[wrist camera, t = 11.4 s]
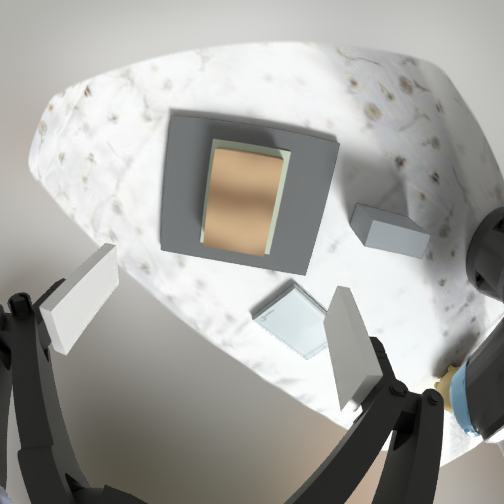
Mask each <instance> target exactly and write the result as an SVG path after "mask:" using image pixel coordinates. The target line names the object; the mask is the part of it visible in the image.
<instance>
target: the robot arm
mask: <svg viewBox="0 0 504 504" xmlns="http://www.w3.org/2000/svg"><path fill="white" fill-rule="evenodd" d="M466 270H467V276H468V279H469V281H470V283H471V284H472V285H473V286H474V287H475V288H476V289H477V290H478V291H479V292H480V293H482V294H484V295H487V296H489V297H491V298H494V299H496V300H498V301H501V302H503V303H504V207H503V208H499V209H496V210H495V211H493V212H492V213H490V214H489V215H488V216H487V217H486V218H485V219H484V220H483V222H482V223H481V225H480V226H479V228H478V229H477V231H476V233H475V235H474V237H473V239H472V242H471V244H470V248H469V251H468V256H467V263H466ZM118 284H119V280H118V268H117V254H116V245H112V244H107V243H105V244H104V245H103V246H102V247H101V248H100V249H98V250H97V251H96V252H95V253H94V254H93V255H92V256H91V257H90V258H88V259H87V260H86V261H85V262H84V263H83V264H82V265H81V266H80V267H79V268H78V269H77V270H75V271H74V272H73V273H72V274H71V275H70V276H69V277H68V278H67V279H64V278H63V279H61V280H59V281H57V282H55V283H54V284H53V285H52V286H51V287H50V289H48V290H47V291H46V293H45V294H43V295H42V296H41V297H40V298H39V299H38V300H37V301H36V302H35V303H34V304H33V305H32V302H31V298H30V296H29V295H28V294H27V293H24V292H23V293H17V294H15V295H13V296H11V297H10V299H9V300H8V303H7V304H8V307H9V309H10V312H11V313H5V312H4V309H3V307H2V305H0V504H13V503H12V501H11V499H10V498H9V497H8V495H7V493H6V491H5V490H6V481H7V427H8V415H9V405H10V397H11V390H12V384H13V396H14V405H15V412H16V420H17V426H18V432H19V437H20V442H21V450H19V451H18V461H19V465H20V469H21V473H22V476H23V480H24V483H25V486H26V489H27V493H28V495H29V498H30V501H31V504H147V503H146V502H144V501H142V500H140V499H138V498H137V497H135V496H133V495H131V494H128V493H126V492H123V491H120V490H117V489H115V488H112V487H109V486H107V485H105V486H104V488H91V487H90V485H89V483H88V481H87V479H86V477H85V476H84V474H83V473H82V471H81V469H80V467H79V465H78V463H77V460H76V457H75V454H74V451H73V449H72V446H71V443H70V440H69V436H68V434H67V430H66V426H65V423H64V420H63V416H62V412H61V408H60V404H59V400H58V396H57V391H56V386H55V381H54V375H53V370H52V363H51V357H50V351H49V348H48V346H49V345H50V343H51V342H52V345H53V347H54V350H55V351H58V352H60V353H62V354H64V355H67V353H68V352H69V350H70V349H71V348H72V346H73V345H74V343H75V342H76V340H77V339H78V338H79V336H80V334H81V333H82V332H83V330H84V329H85V328H86V326H87V325H88V324H89V322H90V321H91V320H92V318H93V317H94V316H95V314H96V313H97V312H98V310H99V309H100V308H101V306H102V305H103V304H104V302H105V301H106V299H107V298H108V297H109V296H110V294H111V293H112V292H113V291H114V290H115V288H116V287H117V286H118ZM323 324H324V329H325V333H326V338H327V343H328V347H329V352H330V357H331V362H332V367H333V372H334V377H335V382H336V387H337V392H338V398H339V403H340V409H341V412H346V411H356V410H357V409H358V408H359V406H360V405H361V406H362V410H363V411H362V413H361V414H360V415H359V416H358V417H357V418H356V419H355V421H354V422H353V425H352V426H351V428H350V429H349V430H348V432H347V433H346V434H345V436H344V437H343V438H342V440H341V441H340V442H339V443H338V445H337V446H336V447H335V449H334V450H333V451H332V452H331V453H330V455H329V456H328V457H327V458H326V460H325V461H324V462H323V463H322V464H321V465H320V466H319V467H318V469H317V470H316V471H315V472H314V473H313V474H312V475H311V477H309V479H308V480H307V481H306V482H305V483H304V484H303V485H302V486H301V487H300V488H299V489H298V490H297V491H296V492H295V493H294V494H293V495H292V496H291V497H290V498H289V499H288V500H287V501H286V502H285V503H284V504H344V503H345V502H346V501H347V499H348V498H349V497H350V495H351V494H352V492H353V491H354V490H355V488H356V487H357V485H358V484H359V483H360V481H361V480H362V478H363V477H364V476H365V474H366V472H367V471H368V469H369V468H370V466H371V465H372V463H373V462H374V460H375V459H376V457H377V455H378V454H379V452H380V450H381V449H382V447H383V445H384V443H385V442H386V440H387V438H388V436H389V434H390V433H391V431H392V430H393V433H392V437H391V441H390V445H389V449H388V454H387V457H386V461H385V464H384V468H383V471H382V475H381V478H380V481H379V484H378V487H377V490H376V493H375V495H374V498H373V501H372V504H433V500H434V496H435V490H436V485H437V480H438V473H439V466H440V459H441V450H442V439H443V423H444V399H443V397H442V395H441V394H440V393H439V392H438V391H436V390H435V389H426V390H425V391H424V392H423V393H422V394H417V393H413V392H409V391H408V388H407V387H406V385H405V384H404V383H403V382H401V381H399V380H397V379H396V378H395V375H394V372H393V370H392V367H391V364H390V362H389V359H388V357H387V354H386V353H385V349H384V347H383V344H382V343H381V342H380V341H379V340H378V338H377V337H369V335H368V333H367V330H366V327H365V325H364V322H363V320H362V317H361V315H360V312H359V310H358V307H357V305H356V303H355V300H354V298H353V295H352V293H351V291H350V288H348V287H342V286H337V288H336V291H335V293H334V296H333V299H332V301H331V304H330V306H329V309H328V311H327V314H326V316H325V319H324V321H323ZM450 401H451V406H452V409H453V412H454V415H455V418H456V420H457V422H458V424H459V426H460V427H461V429H464V431H465V433H466V434H467V435H468V436H470V437H476V436H479V435H482V437H483V439H484V441H485V442H486V443H496V444H498V445H499V448H500V450H501V452H502V454H503V456H504V317H503V319H502V320H501V321H500V322H499V324H498V325H497V326H496V328H495V329H494V330H493V331H492V332H491V334H490V335H489V336H488V337H487V338H486V340H485V341H484V342H483V343H482V344H481V345H480V347H479V348H478V349H477V350H476V351H475V352H474V353H473V354H472V355H470V356H469V357H468V358H467V359H466V362H465V363H464V364H463V365H462V366H461V367H460V369H459V370H458V371H457V372H456V373H455V374H454V376H453V377H452V380H451V383H450Z"/></svg>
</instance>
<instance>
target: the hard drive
mask: <svg viewBox="0 0 504 504" xmlns="http://www.w3.org/2000/svg"><path fill="white" fill-rule="evenodd" d="M326 314H327V313H326V312H325V311H324V310H323V309H322V308H321V307H320V306H319V305H318V304H317V303H316V302H314V301H313V300H312V299H311V298H310V297H309V296H308V295H307V294H306V293H305V292H304V291H302V290H301V289H300V288H299V287H298V286H297V285H296V284H293V285H292V286H291V287H289V288H288V289H287V290H286V291H284V292H283V293H282V294H280V295H279V296H278V297H277V298H275V299H274V300H273V301H271V302H270V303H269V304H268V305H266V306H265V307H264V308H262V309H261V310H260V311H258V312H257V313H256V314H255V315H253V316H252V320H253V321H254V322H255V323H257V324H258V325H259V326H261V327H262V328H263V329H265V330H266V331H267V332H269V333H270V334H271V335H273V336H274V337H275V338H277V339H278V340H279V341H281V342H282V343H283V344H285V345H286V346H288V347H289V348H290V349H292V350H293V351H294V352H296V353H297V354H299V355H300V356H301V357H303V358H304V359H306V360H308V359H310V358H311V357H313V356H315V355H316V354H318V353H319V352H321V351H323V350H324V349H326V348H327V347H328V343H327V338H326V333H325V329H324V324H323V321H324V319H325V316H326Z"/></svg>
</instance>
